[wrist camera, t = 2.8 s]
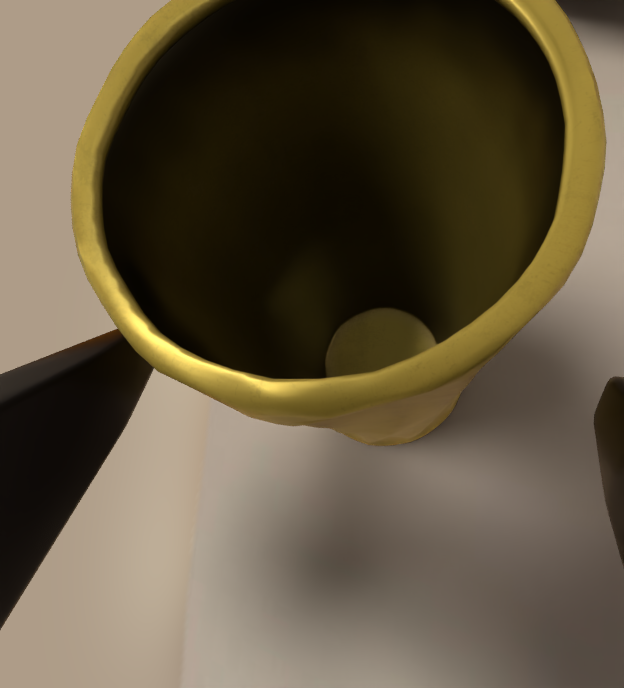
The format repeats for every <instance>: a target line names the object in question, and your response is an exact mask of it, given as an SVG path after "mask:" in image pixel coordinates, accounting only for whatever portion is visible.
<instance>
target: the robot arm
mask: <svg viewBox="0 0 624 688" xmlns="http://www.w3.org/2000/svg"><path fill="white" fill-rule="evenodd" d="M153 369H154V367H153V366H152V365H150V364H149V363H148V362H147V361H146V360H145V359H144V358H143V357H142V356H141V355H140V354H138V353H137V352H136V351H135V349H134V348H133V347H132V346H131V344H130V343H129V342H128V341H127V339H126V338H125V337H124V336H123V334H122V333H121V332H120V330H119V329H116V330H113V331H110V332H108V333H105V334H103V335H100V336H98V337H95V338H92V339H90V340H87V341H85V342H82V343H80V344H77V345H74V346H72V347H70V348H67V349H64V350H62V351H59V352H57V353H54V354H51V355H49V356H46V357H44V358H41V359H39V360H36V361H34V362H31V363H28V364H26V365H23V366H21V367H18V368H15V369H13V370H10V371H8V372H5V373H3V374H0V629H1V628H2V626H3V625H4V623H5V621H6V620H7V618H8V617H9V615H10V613H11V612H12V610H13V608H14V607H15V605H16V604H17V602H18V600H19V599H20V597H21V595H22V594H23V592H24V590H25V589H26V587H27V586H28V584H29V582H30V581H31V579H32V578H33V576H34V574H35V573H36V571H37V570H38V568H39V566H40V565H41V563H42V562H43V560H44V558H45V556H46V555H47V553H48V552H49V550H50V549H51V547H52V545H53V544H54V542H55V540H56V539H57V537H58V536H59V534H60V532H61V531H62V529H63V527H64V526H65V524H66V523H67V521H68V519H69V518H70V516H71V515H72V513H73V511H74V510H75V508H76V507H77V505H78V503H79V502H80V500H81V498H82V497H83V495H84V494H85V492H86V490H87V489H88V487H89V485H90V483H91V482H92V480H93V479H94V477H95V476H96V474H97V473H98V471H99V469H100V468H101V466H102V464H103V463H104V461H105V460H106V458H107V456H108V455H109V453H110V452H111V450H112V448H113V447H114V445H115V443H116V442H117V440H118V439H119V437H120V435H121V434H122V432H123V430H124V428H125V427H126V425H127V423H128V421H129V419H130V417H131V415H132V413H133V411H134V409H135V407H136V405H137V402H138V401H139V398H140V396H141V394H142V392H143V390H144V388H145V386H146V384H147V382H148V380H149V378H150V376H151V373H152V371H153ZM594 430H595V436H596V443H597V450H598V457H599V463H600V470H601V477H602V484H603V490H604V496H605V501H606V506H607V510H608V513H609V517H610V521H611V524H612V528H613V531H614V535H615V538H616V542H617V545H618V549H619V552H620V556H621V559H622V563H623V567H624V377H612V378H610V379H609V381H608V382H607V384H606V386H605V389H604V391H603V393H602V396H601V398H600V401H599V403H598V406H597V408H596V411H595V414H594Z"/></svg>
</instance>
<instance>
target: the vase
mask: <svg viewBox="0 0 624 688" xmlns="http://www.w3.org/2000/svg"><path fill="white" fill-rule="evenodd" d="M605 155H606V134H605V125H604V115H603V110H602V105H601V100H600V96H599V91H598V86H597V82H596V79H595V77H594V74H593V71H592V68H591V65H590V62H589V60H588V57H587V55H586V53H585V50H584V48H583V46H582V44H581V42H580V39H579V37H578V35H577V33H576V31H575V30H574V28H573V26H572V24H571V22H570V20H569V18H568V17H567V15H566V14H565V12H564V11H563V10H562V8H561V7H560V6H559V4H558V3H557V2H556V0H171V1H170V2H168V3H167V4H166V5H165V6H164V7H162V8H161V9H160V10H159V11H157V12H156V13H155V14H154V15H153V16H152V17H150V18H149V20H148V21H147V22H146V23H145V24H144V25H143V26H142V28H141V29H140V30H139V31H138V32H137V33H136V34H135V36H134V37H133V38H132V40H131V41H130V42H129V44H128V45H127V46H126V48H125V49H124V50H123V52H122V54H121V55H120V57H119V58H118V60H117V61H116V63H115V64H114V66H113V67H112V69H111V71H110V73H109V75H108V77H107V79H106V81H105V83H104V85H103V87H102V89H101V91H100V93H99V95H98V97H97V99H96V101H95V103H94V105H93V107H92V109H91V111H90V113H89V115H88V117H87V120H86V123H85V125H84V128H83V130H82V133H81V136H80V138H79V141H78V144H77V148H76V154H75V160H74V166H73V171H72V186H71V210H72V225H73V232H74V237H75V242H76V247H77V251H78V256H79V258H80V261H81V263H82V266H83V268H84V271H85V274H86V276H87V279H88V281H89V282H90V284H91V286H92V288H93V289H94V291H95V293H96V294H97V296H98V298H99V300H100V301H101V303H102V305H103V306H104V308H105V309H106V311H107V313H108V314H109V316H110V317H111V319H112V320H113V322H114V324H115V325H116V326H117V328H118V329H119V330H120V332H121V333H122V334H123V336H124V337H125V338H126V339H127V341H128V342H129V343H130V344H131V346H132V347H133V348H134V349H135V351H136V352H137V353H138V354H140V355H141V356H142V357H143V358H144V359H145V360H146V361H147V362H148V363H149V364H150V365H152V366H153V367H154V368H155V369H156V370H157V371H158V372H160V373H162V374H164V375H166V376H169V377H171V378H173V379H175V380H177V381H179V382H181V383H183V384H185V385H187V386H189V387H191V388H193V389H195V390H197V391H199V392H201V393H203V394H205V395H207V396H209V397H211V398H213V399H215V400H217V401H219V402H221V403H223V404H225V405H227V406H229V407H231V408H233V409H235V410H237V411H239V412H241V413H243V414H245V415H247V416H249V417H251V418H255V419H259V420H263V421H267V422H271V423H274V424H280V425H287V426H301V425H305V426H311V427H318V428H330V429H333V430H335V431H337V432H339V433H342V434H344V435H346V436H348V437H350V438H352V439H354V440H356V441H359V442H361V443H364V444H367V445H376V446H388V445H397V444H403V443H408V442H412V441H414V440H417V439H419V438H421V437H423V436H424V435H426V434H428V433H429V432H431V431H432V430H433V429H435V428H436V427H437V426H438V425H440V424H441V423H442V422H443V421H444V420H445V419H446V418H447V417H448V415H449V414H450V413H451V412H452V410H453V409H454V407H455V405H456V403H457V401H458V399H459V396H460V393H461V392H462V390H463V389H464V388H465V387H466V386H467V385H468V384H469V383H470V382H471V380H472V379H473V378H474V377H475V375H476V374H477V373H478V371H479V370H480V369H481V368H482V367H483V366H484V365H485V364H486V363H487V362H488V361H489V360H491V359H492V358H493V357H494V356H496V355H497V354H498V353H499V352H500V351H501V349H502V348H503V347H504V346H505V345H506V344H507V343H508V342H509V341H510V340H511V339H512V338H513V337H514V336H515V335H516V334H517V333H518V332H519V331H520V330H521V329H522V328H523V327H524V326H525V325H526V324H527V323H528V322H529V321H530V320H531V319H532V318H533V317H534V316H535V315H536V314H537V313H538V312H539V311H540V310H541V309H542V308H543V307H544V306H545V305H546V304H547V303H548V302H549V301H550V300H551V299H552V298H553V297H554V296H555V295H556V293H557V292H558V291H559V290H560V289H561V288H562V287H563V286H564V284H565V283H566V281H567V279H568V277H569V276H570V274H571V272H572V271H573V269H574V267H575V265H576V264H577V262H578V260H579V259H580V257H581V255H582V253H583V250H584V247H585V245H586V242H587V239H588V236H589V234H590V231H591V228H592V225H593V221H594V217H595V213H596V209H597V204H598V200H599V196H600V190H601V185H602V179H603V174H604V168H605Z"/></svg>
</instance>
